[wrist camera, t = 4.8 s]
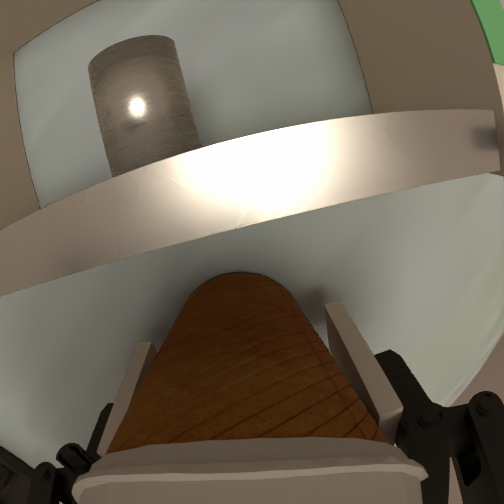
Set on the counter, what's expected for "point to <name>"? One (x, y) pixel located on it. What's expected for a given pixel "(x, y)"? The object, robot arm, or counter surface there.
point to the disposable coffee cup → (248, 415)
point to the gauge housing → (369, 53)
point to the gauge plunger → (223, 169)
